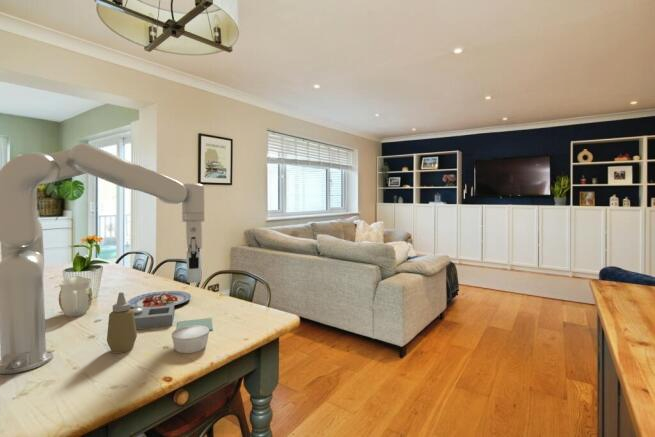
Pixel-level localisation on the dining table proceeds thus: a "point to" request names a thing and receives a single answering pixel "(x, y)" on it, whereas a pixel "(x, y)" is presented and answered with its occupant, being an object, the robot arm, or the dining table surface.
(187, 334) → the ramekin
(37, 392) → the dining table surface
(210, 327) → the mat
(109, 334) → the squeeze bottle
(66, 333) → the dining table surface
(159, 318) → the housing
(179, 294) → the ceramic plate
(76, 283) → the pitcher
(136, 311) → the plunger
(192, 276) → the cylinder
